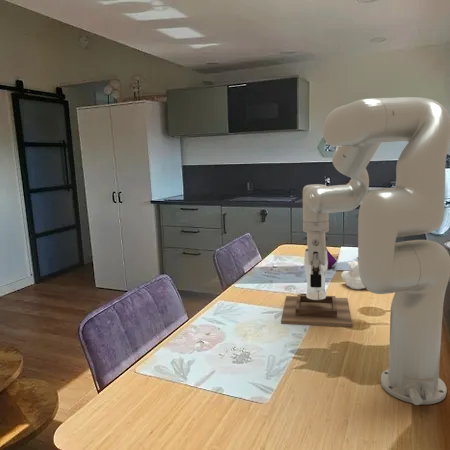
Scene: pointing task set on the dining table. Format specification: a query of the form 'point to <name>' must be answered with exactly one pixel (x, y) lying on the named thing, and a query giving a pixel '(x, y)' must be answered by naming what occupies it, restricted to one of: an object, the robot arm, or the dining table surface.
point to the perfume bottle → (330, 259)
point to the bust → (353, 276)
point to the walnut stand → (316, 311)
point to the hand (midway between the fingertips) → (315, 282)
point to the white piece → (316, 292)
